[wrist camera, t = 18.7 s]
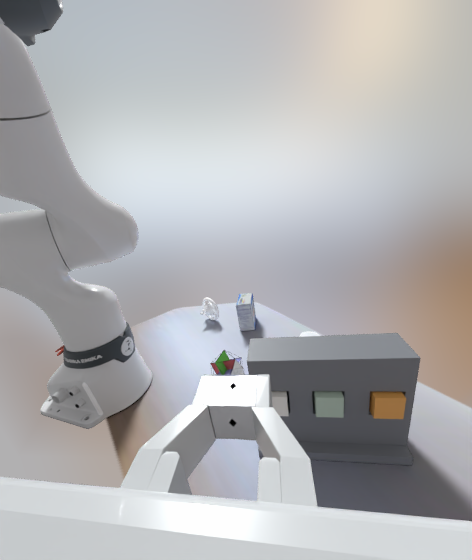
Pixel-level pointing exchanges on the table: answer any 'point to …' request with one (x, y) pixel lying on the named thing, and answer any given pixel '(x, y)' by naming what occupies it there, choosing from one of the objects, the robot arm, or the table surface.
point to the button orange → (387, 404)
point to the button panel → (355, 388)
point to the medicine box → (246, 312)
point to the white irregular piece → (210, 309)
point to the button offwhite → (280, 402)
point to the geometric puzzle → (227, 365)
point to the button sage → (328, 403)
